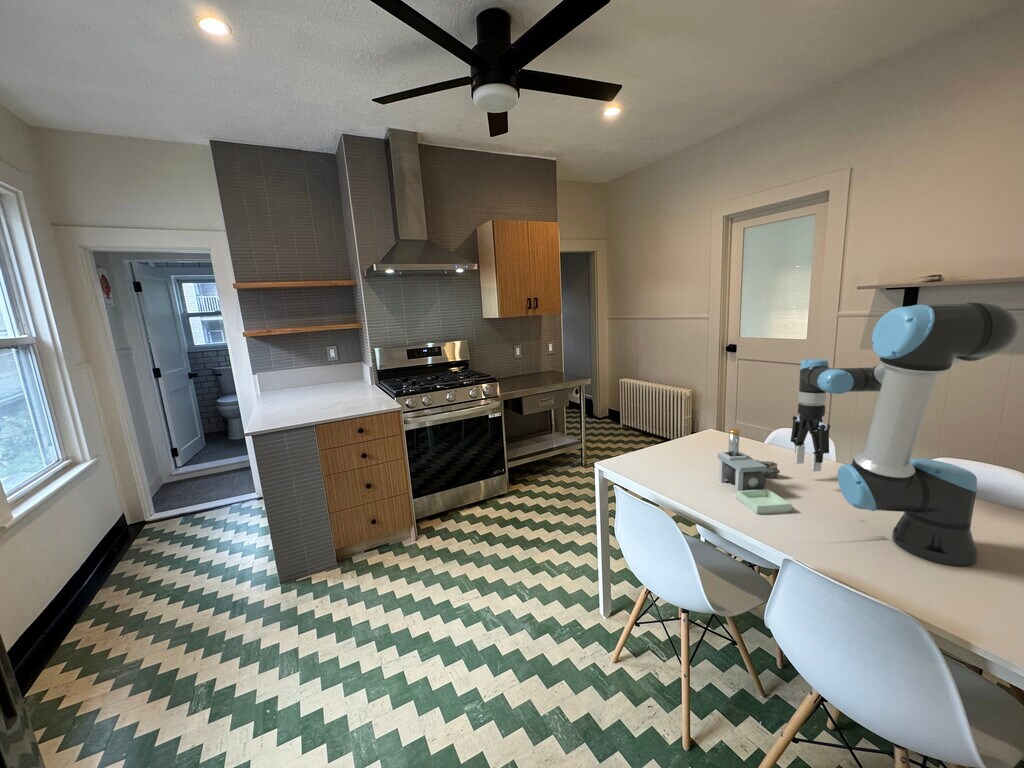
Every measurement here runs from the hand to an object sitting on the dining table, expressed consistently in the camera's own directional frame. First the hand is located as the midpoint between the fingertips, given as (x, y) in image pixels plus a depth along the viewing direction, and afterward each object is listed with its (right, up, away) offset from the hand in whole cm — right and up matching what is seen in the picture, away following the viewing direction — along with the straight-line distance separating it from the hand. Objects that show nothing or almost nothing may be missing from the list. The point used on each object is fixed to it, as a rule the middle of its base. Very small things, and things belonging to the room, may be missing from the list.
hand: (807, 466), depth 137 cm
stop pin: (-25, +3, +2) cm, 25 cm away
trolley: (-23, -8, +1) cm, 25 cm away
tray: (-24, -10, -12) cm, 28 cm away
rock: (-13, -1, +5) cm, 14 cm away
